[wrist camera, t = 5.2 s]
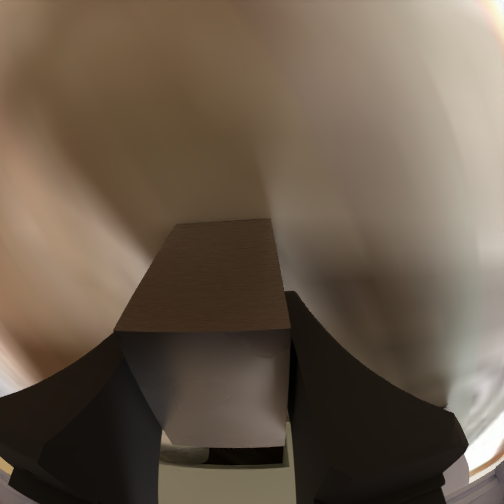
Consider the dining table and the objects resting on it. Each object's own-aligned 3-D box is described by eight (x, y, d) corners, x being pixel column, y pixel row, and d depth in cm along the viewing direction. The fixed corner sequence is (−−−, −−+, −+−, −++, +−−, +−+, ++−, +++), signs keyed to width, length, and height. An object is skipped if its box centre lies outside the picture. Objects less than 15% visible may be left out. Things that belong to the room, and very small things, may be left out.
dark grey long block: (269, 218, 11) (291, 328, 5) (273, 434, 17) (278, 508, 12) (176, 224, 11) (113, 330, 5) (224, 435, 17) (220, 509, 12)
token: (204, 406, 16) (200, 438, 14) (216, 440, 18) (214, 467, 16) (131, 400, 16) (122, 429, 14) (153, 435, 18) (148, 460, 16)
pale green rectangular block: (305, 417, 16) (319, 521, 9) (296, 466, 20) (303, 537, 14) (79, 405, 17) (48, 484, 10) (124, 458, 21) (110, 519, 14)
